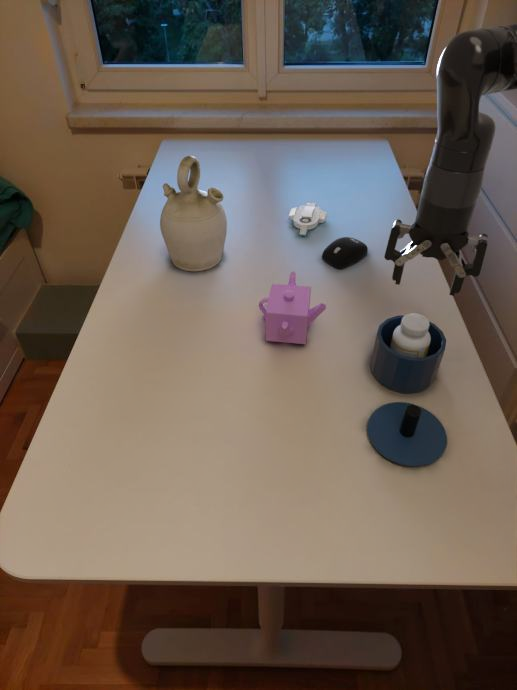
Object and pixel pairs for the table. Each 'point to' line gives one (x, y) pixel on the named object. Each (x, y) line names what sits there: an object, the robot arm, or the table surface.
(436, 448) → the lid
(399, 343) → the pill bottle
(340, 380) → the table surface
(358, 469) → the table surface
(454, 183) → the robot arm
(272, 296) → the teapot
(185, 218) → the jug
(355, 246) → the computer mouse
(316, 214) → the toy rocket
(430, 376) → the pot
